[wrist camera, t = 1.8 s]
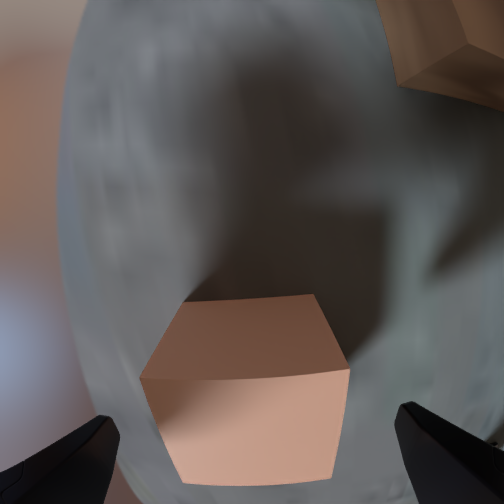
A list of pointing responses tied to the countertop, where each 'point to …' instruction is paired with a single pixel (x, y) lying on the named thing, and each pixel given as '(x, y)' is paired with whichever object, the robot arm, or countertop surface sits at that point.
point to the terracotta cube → (249, 391)
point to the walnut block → (448, 47)
